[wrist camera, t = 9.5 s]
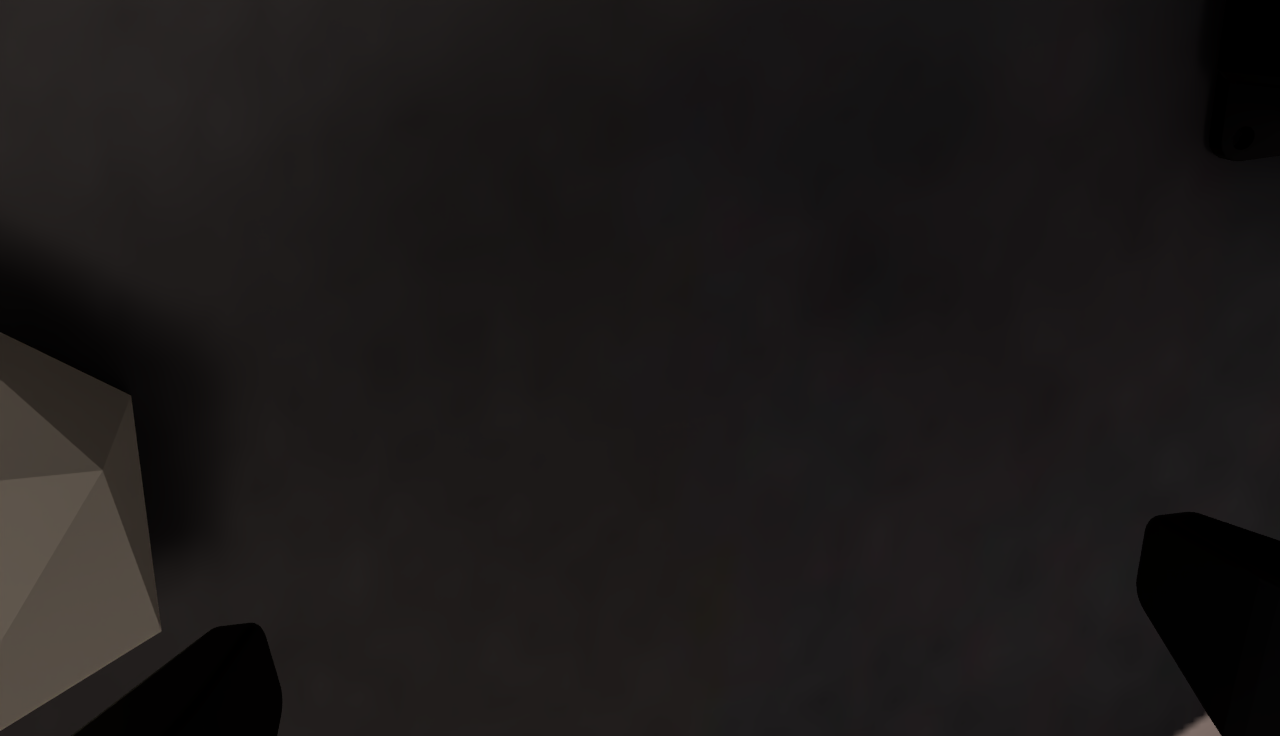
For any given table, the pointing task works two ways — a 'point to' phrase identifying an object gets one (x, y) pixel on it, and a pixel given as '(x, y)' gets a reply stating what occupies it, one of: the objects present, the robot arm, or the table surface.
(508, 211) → the table surface
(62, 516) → the die
